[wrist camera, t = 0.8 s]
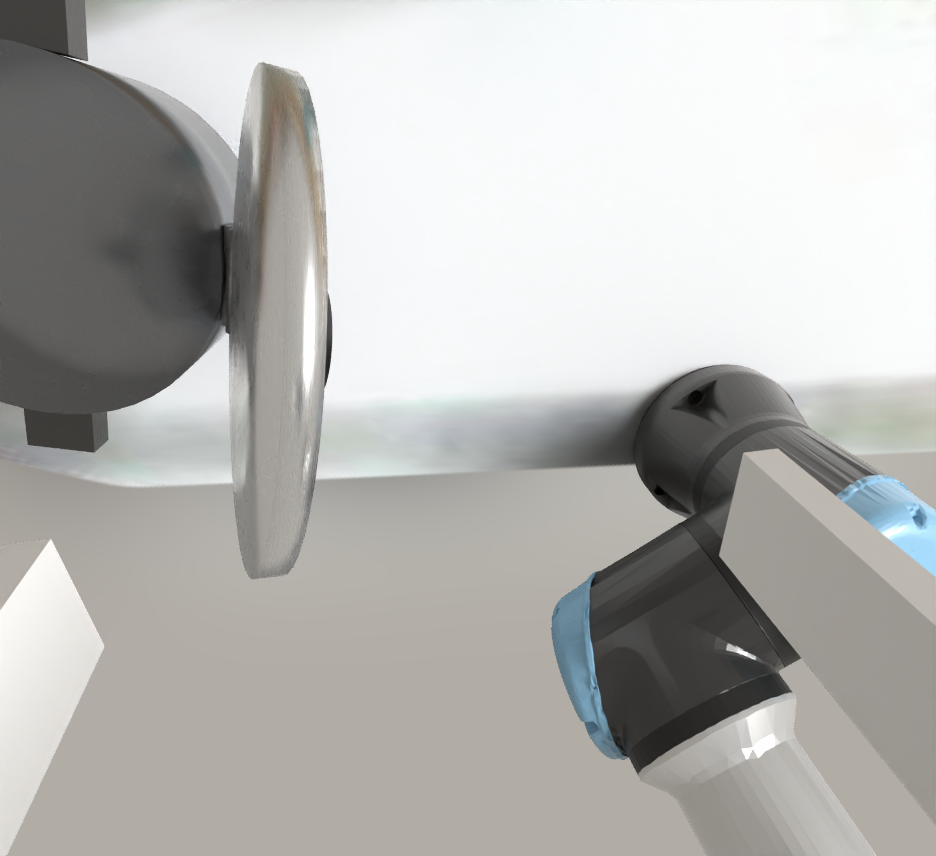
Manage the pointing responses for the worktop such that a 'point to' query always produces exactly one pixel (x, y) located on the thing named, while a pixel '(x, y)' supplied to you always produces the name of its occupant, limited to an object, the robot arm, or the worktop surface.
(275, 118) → the lid
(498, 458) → the worktop surface
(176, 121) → the pot
